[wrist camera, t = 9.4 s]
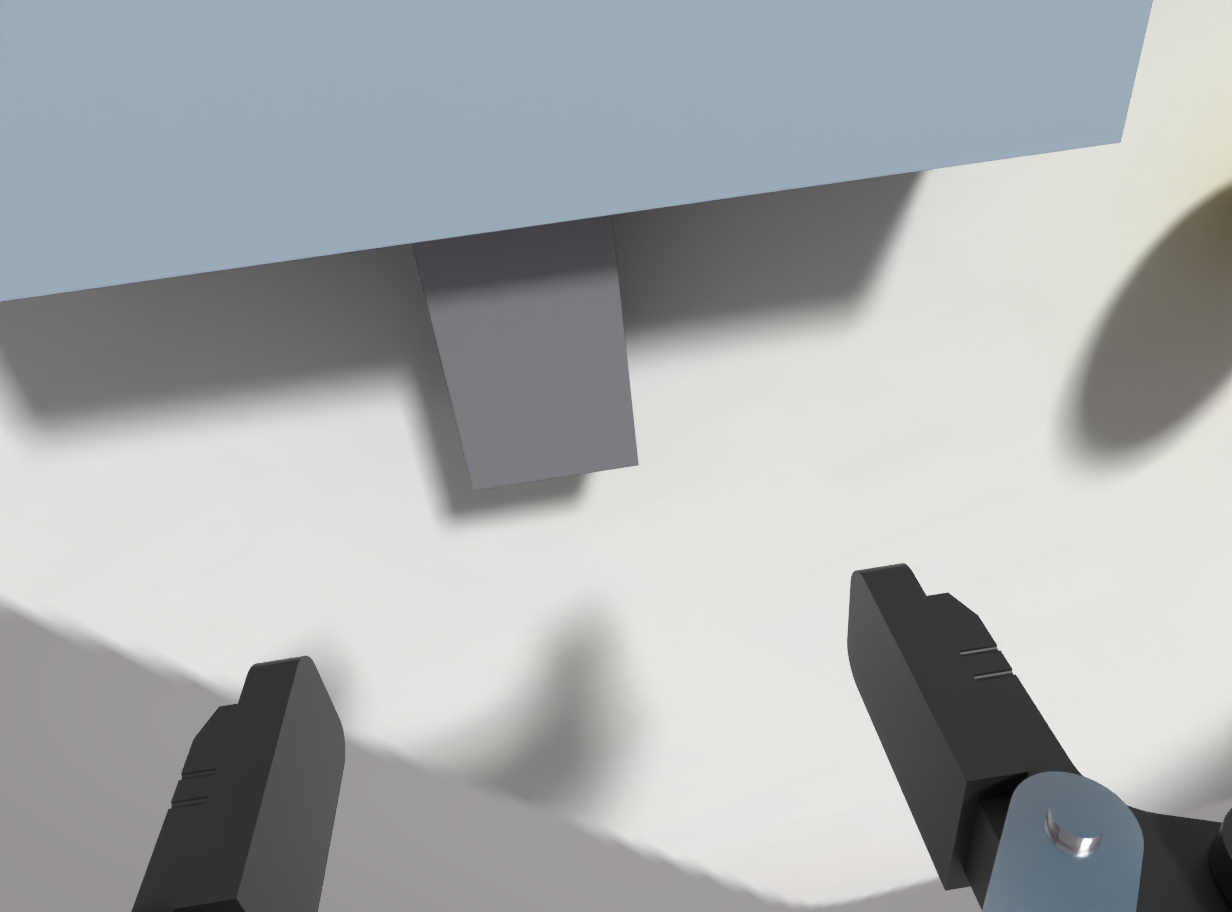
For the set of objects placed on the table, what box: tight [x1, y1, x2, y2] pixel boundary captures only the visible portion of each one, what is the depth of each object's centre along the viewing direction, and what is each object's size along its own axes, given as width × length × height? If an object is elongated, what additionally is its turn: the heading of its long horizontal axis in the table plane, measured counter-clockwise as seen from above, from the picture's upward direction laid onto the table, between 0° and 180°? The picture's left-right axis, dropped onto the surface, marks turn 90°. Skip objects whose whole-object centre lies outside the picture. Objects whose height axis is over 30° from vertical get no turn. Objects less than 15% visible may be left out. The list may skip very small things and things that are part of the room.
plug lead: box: [412, 215, 638, 491], centre depth 17 cm, size 4×18×4 cm, turn 6°
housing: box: [0, 0, 1153, 302], centre depth 16 cm, size 22×5×6 cm, turn 96°
